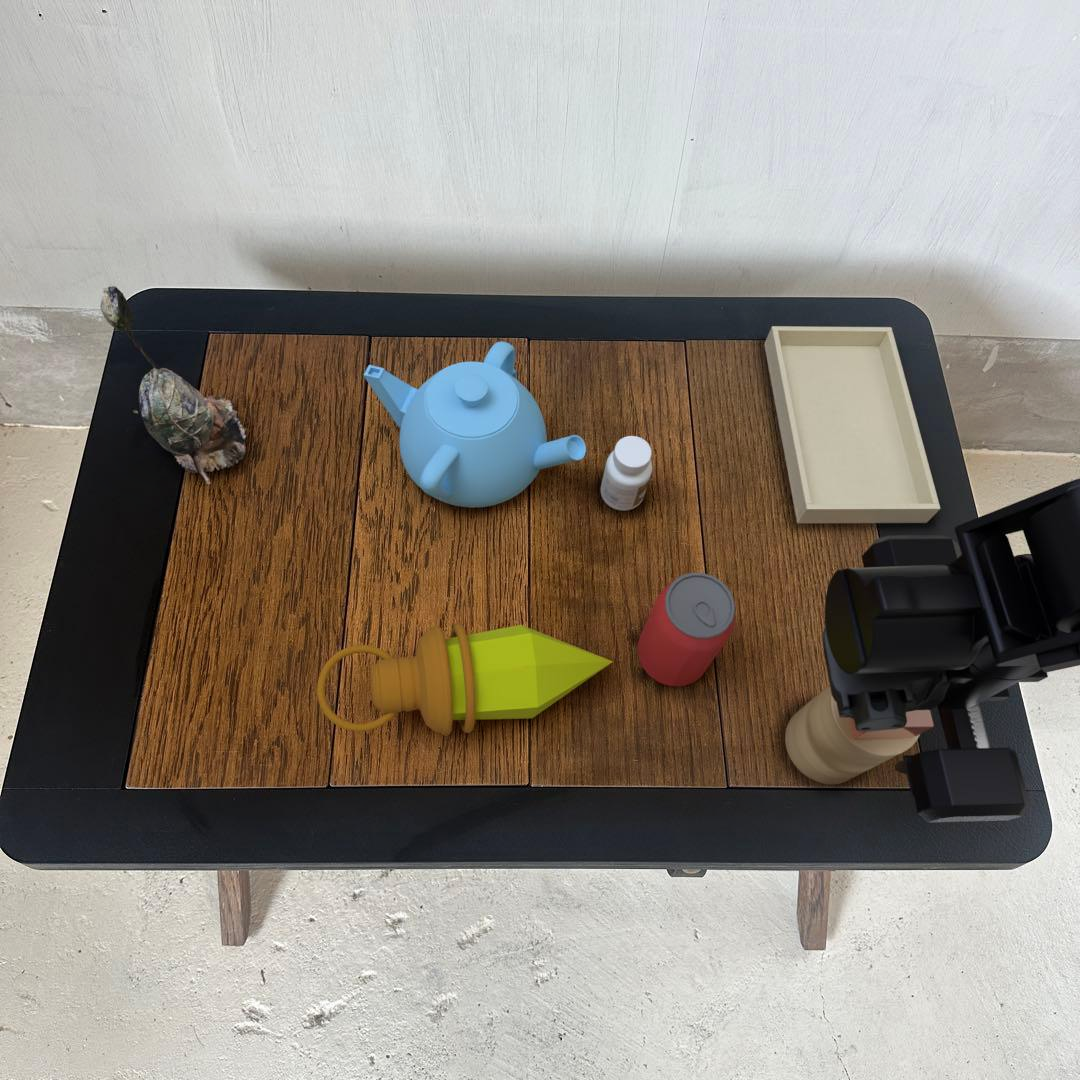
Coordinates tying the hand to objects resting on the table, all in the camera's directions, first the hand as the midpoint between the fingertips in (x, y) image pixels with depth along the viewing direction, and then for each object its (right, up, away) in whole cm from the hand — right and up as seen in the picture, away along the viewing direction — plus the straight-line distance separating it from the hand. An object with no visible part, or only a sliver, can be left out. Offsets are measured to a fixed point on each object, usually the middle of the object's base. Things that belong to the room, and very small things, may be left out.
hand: (887, 704), depth 63 cm
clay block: (0, -1, +1) cm, 1 cm away
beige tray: (+6, +24, +26) cm, 36 cm away
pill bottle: (-18, +17, +22) cm, 33 cm away
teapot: (-32, +21, +23) cm, 45 cm away
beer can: (-14, +2, +15) cm, 20 cm away
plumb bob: (-32, -1, +12) cm, 34 cm away
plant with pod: (-59, +22, +22) cm, 67 cm away
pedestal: (-1, -6, +11) cm, 13 cm away
